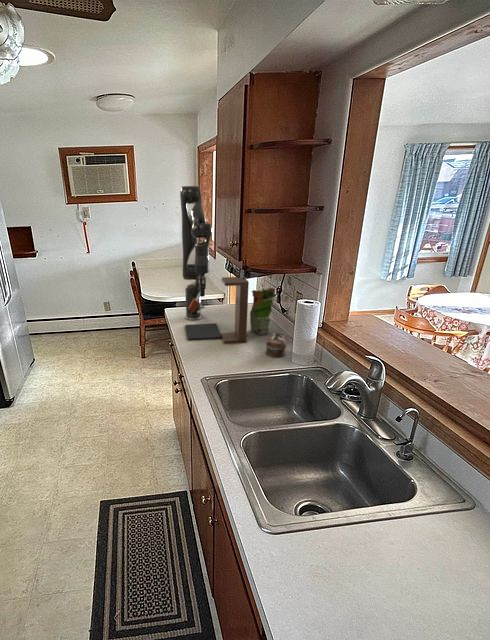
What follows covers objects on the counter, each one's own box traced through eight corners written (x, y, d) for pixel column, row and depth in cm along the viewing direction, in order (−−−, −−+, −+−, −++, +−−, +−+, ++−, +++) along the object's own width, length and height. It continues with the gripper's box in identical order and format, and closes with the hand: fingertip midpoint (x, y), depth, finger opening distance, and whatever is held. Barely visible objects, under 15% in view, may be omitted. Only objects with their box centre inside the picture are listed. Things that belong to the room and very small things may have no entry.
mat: (185, 326, 230) (185, 324, 229) (215, 324, 230) (215, 323, 230) (188, 340, 210) (188, 338, 209) (221, 338, 210) (221, 336, 210)
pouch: (272, 329, 220) (276, 285, 209) (268, 336, 210) (271, 291, 199) (253, 327, 224) (255, 284, 213) (247, 334, 214) (249, 289, 204)
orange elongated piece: (202, 282, 210) (208, 285, 210) (188, 307, 215) (193, 310, 216) (203, 283, 206) (208, 286, 207) (188, 309, 212) (194, 312, 213)
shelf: (220, 335, 215) (221, 277, 201) (241, 334, 215) (243, 276, 201) (224, 343, 204) (225, 283, 190) (246, 342, 204) (248, 281, 190)
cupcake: (266, 349, 195) (267, 330, 191) (286, 350, 192) (287, 331, 188) (264, 356, 187) (265, 337, 183) (284, 358, 184) (286, 339, 180)
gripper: (210, 265, 198) (210, 299, 205) (207, 260, 210) (207, 292, 217) (196, 266, 197) (196, 299, 205) (193, 261, 210) (194, 292, 217)
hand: (202, 295), depth 211 cm, fingers closed on orange elongated piece
